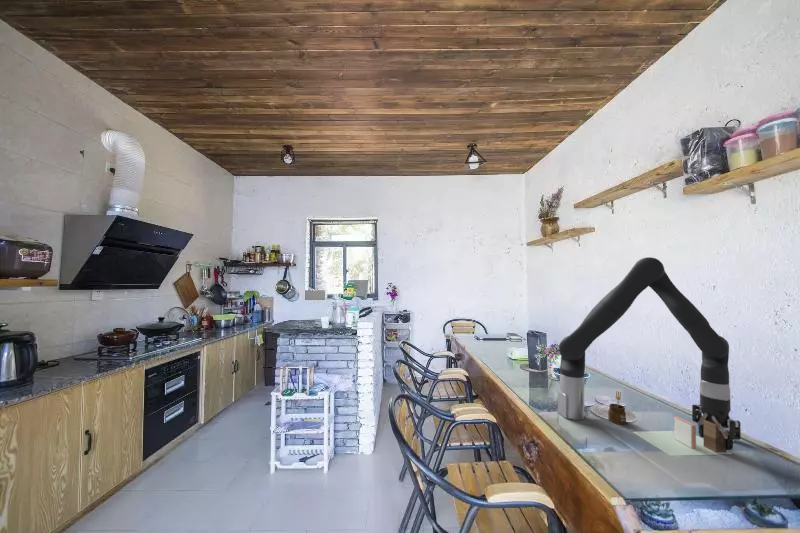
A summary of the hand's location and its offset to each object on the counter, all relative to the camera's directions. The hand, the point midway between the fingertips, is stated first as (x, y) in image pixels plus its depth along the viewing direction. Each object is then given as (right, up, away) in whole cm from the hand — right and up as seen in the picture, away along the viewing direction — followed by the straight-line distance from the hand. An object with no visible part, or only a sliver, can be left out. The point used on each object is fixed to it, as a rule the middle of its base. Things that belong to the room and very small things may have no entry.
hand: (715, 443), depth 111 cm
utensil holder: (-20, -3, +21) cm, 29 cm away
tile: (-7, -2, +3) cm, 8 cm away
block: (0, -2, 0) cm, 2 cm away
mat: (-8, -3, +4) cm, 10 cm away
